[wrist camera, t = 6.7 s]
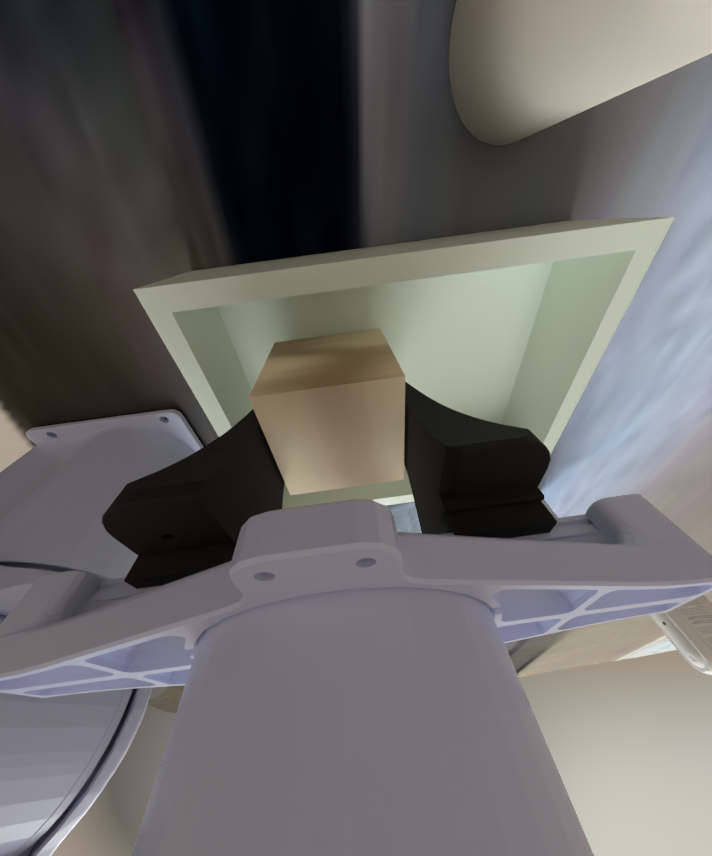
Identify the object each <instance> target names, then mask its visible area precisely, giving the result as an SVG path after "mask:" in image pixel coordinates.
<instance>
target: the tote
mask: <svg viewBox="0 0 712 856" xmlns="http://www.w3.org/2000/svg"><path fill="white" fill-rule="evenodd" d="M674 218H675V217H655V218H622V219H588V220H567V221H560V222H552V223H545V224H538V225H530V226H523V227H515V228H508V229H500V230H493V231H485V232H478V233H470V234H463V235H455V236H448V237H440V238H433V239H426V240H418V241H411V242H403V243H396V244H388V245H381V246H373V247H366V248H358V249H351V250H343V251H336V252H328V253H321V254H314V255H306V256H299V257H291V258H284V259H276V260H269V261H261V262H254V263H246V264H239V265H231V266H224V267H216V268H209V269H202V270H194V271H190V272H187V273H183V274H180V275H177V276H174V277H171V278H168V279H165V280H161V281H158V282H155V283H152V284H149V285H146V286H143V287H139V288H136V289H133V290H134V292H135V294H136V296H137V297H138V299H139V301H140V302H141V304H142V306H143V308H144V309H145V311H146V313H147V314H148V316H149V318H150V320H151V321H152V323H153V325H154V326H155V328H156V330H157V332H158V333H159V335H160V337H161V338H162V340H163V342H164V344H165V345H166V347H167V349H168V350H169V352H170V354H171V356H172V357H173V359H174V361H175V362H176V364H177V366H178V368H179V369H180V371H181V373H182V374H183V376H184V378H185V380H186V381H187V383H188V385H189V386H190V388H191V390H192V392H193V393H194V395H195V397H196V398H197V400H198V402H199V404H200V405H201V407H202V409H203V411H204V412H205V414H206V416H207V417H208V419H209V421H210V423H211V424H212V426H213V428H214V429H215V431H216V433H217V435H218V436H219V437H220V436H222V435H223V434H224V433H226V432H227V431H228V430H230V429H231V428H232V427H233V426H234V425H236V424H237V423H238V422H239V421H240V420H241V419H243V418H244V417H245V416H246V415H247V414H248V413H249V412H250V411H251V410H252V409H253V407H252V405H251V403H250V400H249V398H248V397H249V395H250V393H251V391H252V389H253V387H254V385H255V383H256V381H257V378H258V376H259V374H260V372H261V370H262V368H263V366H264V364H265V362H266V360H267V358H268V355H269V353H270V351H271V349H272V347H273V345H274V343H275V342H282V341H290V340H297V339H304V338H312V337H319V336H326V335H334V334H341V333H348V332H356V331H363V330H370V329H378V328H380V329H381V331H382V333H383V335H384V336H385V338H386V340H387V342H388V344H389V346H390V348H391V350H392V352H393V354H394V355H395V357H396V359H397V361H398V363H399V365H400V367H401V369H402V371H403V373H404V374H405V381H406V382H407V383H408V384H410V385H411V386H412V387H414V388H415V389H417V390H418V391H420V392H421V393H423V394H424V395H426V396H427V397H429V398H431V399H433V400H434V401H436V402H438V403H440V404H442V405H444V406H446V407H449V408H451V409H453V410H455V411H458V412H460V413H463V414H466V415H469V416H472V417H475V418H479V419H482V420H486V421H490V422H494V423H498V424H503V425H508V426H514V427H520V428H526V429H529V430H530V431H531V432H532V433H533V434H534V435H535V436H536V437H537V438H538V439H539V440H540V441H541V442H542V443H543V444H544V445H545V446H546V447H547V449H548V450H549V452H550V455H551V453H552V451H553V449H554V447H555V445H556V443H557V441H558V439H559V437H560V436H561V434H562V432H563V430H564V428H565V426H566V424H567V422H568V420H569V418H570V416H571V415H572V413H573V411H574V409H575V407H576V405H577V403H578V401H579V399H580V397H581V395H582V394H583V392H584V390H585V388H586V386H587V384H588V382H589V380H590V378H591V376H592V374H593V373H594V371H595V369H596V367H597V365H598V363H599V361H600V359H601V357H602V355H603V353H604V352H605V350H606V348H607V346H608V344H609V342H610V340H611V338H612V336H613V334H614V332H615V331H616V329H617V327H618V325H619V323H620V321H621V319H622V317H623V315H624V313H625V311H626V310H627V308H628V306H629V304H630V302H631V300H632V298H633V296H634V294H635V292H636V290H637V289H638V287H639V285H640V283H641V281H642V279H643V277H644V275H645V273H646V271H647V269H648V268H649V266H650V264H651V262H652V260H653V258H654V256H655V254H656V252H657V250H658V248H659V247H660V245H661V243H662V241H663V239H664V237H665V235H666V233H667V231H668V229H669V227H670V226H671V224H672V222H673V220H674ZM353 499H360V500H373V501H375V502H378V503H380V504H382V505H392V504H399V503H407V502H414V497H413V493H412V489H411V485H410V482H409V478H408V474H407V471H406V468H405V465H404V480H398V481H391V482H384V483H376V484H369V485H362V486H354V487H347V488H340V489H333V490H325V491H318V492H311V493H304V494H296V495H290V493H289V491H288V489H287V486H286V484H284V492H283V505H282V509H286V508H294V507H301V506H309V505H316V504H323V503H331V502H338V501H345V500H353Z"/></svg>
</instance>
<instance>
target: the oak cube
mask: <svg viewBox="0 0 712 856" xmlns="http://www.w3.org/2000/svg"><path fill="white" fill-rule="evenodd" d="M248 398H249V400H250V403H251V405H252V407H253V410H254V412H255V414H256V417H257V419H258V421H259V424H260V426H261V428H262V431H263V433H264V435H265V437H266V440H267V442H268V444H269V447H270V449H271V451H272V454H273V456H274V458H275V461H276V463H277V465H278V468H279V470H280V472H281V475H282V477H283V479H284V482H285V484H286V486H287V489H288V491H289V493H290V495H296V494H304V493H311V492H318V491H325V490H333V489H340V488H347V487H354V486H362V485H369V484H376V483H384V482H391V481H398V480H404V433H405V374H404V373H403V371H402V369H401V367H400V365H399V363H398V361H397V359H396V357H395V355H394V354H393V352H392V350H391V348H390V346H389V344H388V342H387V340H386V338H385V336H384V335H383V333H382V331H381V329H380V328H378V329H370V330H363V331H356V332H348V333H341V334H334V335H326V336H319V337H312V338H304V339H297V340H290V341H282V342H275V343H274V345H273V347H272V349H271V351H270V353H269V355H268V358H267V360H266V362H265V364H264V366H263V368H262V370H261V372H260V374H259V376H258V378H257V381H256V383H255V385H254V387H253V389H252V391H251V393H250V395H249V397H248Z"/></svg>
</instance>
